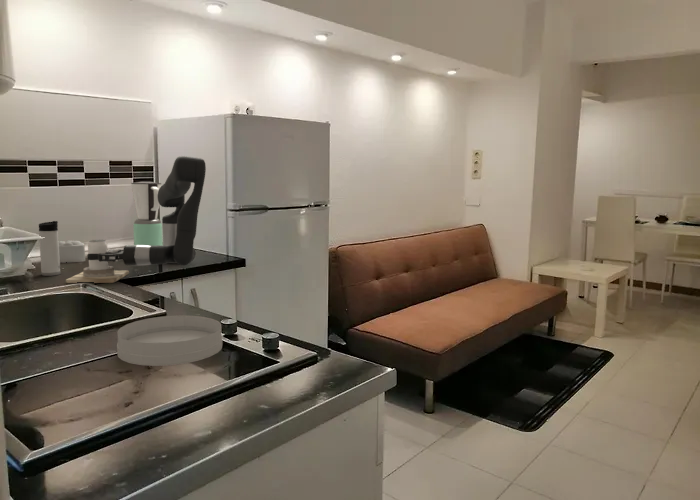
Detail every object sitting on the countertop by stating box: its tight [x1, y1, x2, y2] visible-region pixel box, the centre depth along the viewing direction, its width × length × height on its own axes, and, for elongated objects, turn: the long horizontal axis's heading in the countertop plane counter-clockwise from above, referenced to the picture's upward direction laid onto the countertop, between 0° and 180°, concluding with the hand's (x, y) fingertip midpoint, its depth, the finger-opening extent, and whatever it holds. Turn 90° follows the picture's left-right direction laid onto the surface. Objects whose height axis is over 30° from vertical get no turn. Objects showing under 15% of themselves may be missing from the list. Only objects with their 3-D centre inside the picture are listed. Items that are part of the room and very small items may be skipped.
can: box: [87, 239, 109, 270], centre depth 197 cm, size 6×6×12 cm
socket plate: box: [65, 265, 130, 284], centre depth 198 cm, size 18×16×4 cm
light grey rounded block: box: [59, 239, 86, 264], centre depth 236 cm, size 10×13×9 cm
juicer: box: [130, 180, 163, 246], centre depth 258 cm, size 19×13×35 cm
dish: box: [116, 314, 223, 367], centre depth 119 cm, size 22×22×5 cm
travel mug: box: [38, 220, 61, 277], centre depth 203 cm, size 6×7×20 cm
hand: (91, 255), depth 197 cm, fingers closed on can, 6 cm apart
